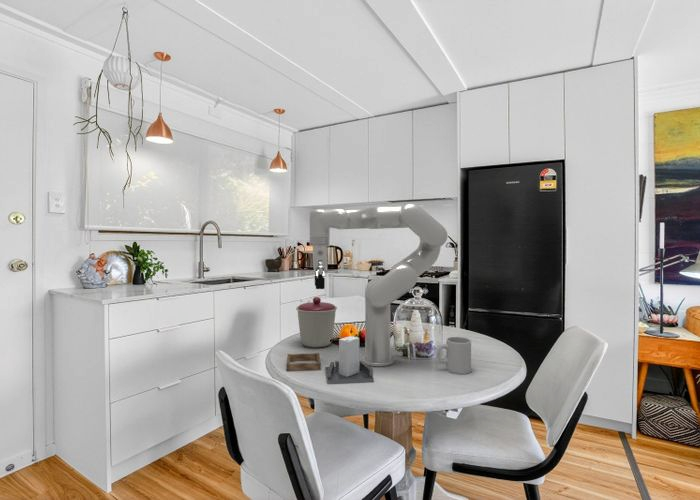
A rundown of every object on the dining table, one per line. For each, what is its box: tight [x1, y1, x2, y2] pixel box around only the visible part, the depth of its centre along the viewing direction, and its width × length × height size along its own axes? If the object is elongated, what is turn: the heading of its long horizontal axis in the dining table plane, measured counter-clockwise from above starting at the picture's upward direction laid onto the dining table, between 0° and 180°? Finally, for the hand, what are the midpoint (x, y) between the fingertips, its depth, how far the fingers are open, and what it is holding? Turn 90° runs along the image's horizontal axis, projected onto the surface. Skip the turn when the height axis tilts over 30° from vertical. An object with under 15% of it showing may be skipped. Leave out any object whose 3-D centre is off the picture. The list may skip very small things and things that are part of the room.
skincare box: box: [338, 335, 360, 377], centre depth 129 cm, size 6×4×12 cm
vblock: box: [324, 359, 375, 385], centre depth 130 cm, size 15×13×4 cm
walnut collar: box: [286, 352, 322, 372], centre depth 141 cm, size 12×12×2 cm
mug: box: [436, 336, 472, 375], centre depth 136 cm, size 12×8×11 cm
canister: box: [295, 296, 338, 348], centre depth 168 cm, size 18×18×21 cm
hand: (319, 287), depth 145 cm, fingers open, 9 cm apart
